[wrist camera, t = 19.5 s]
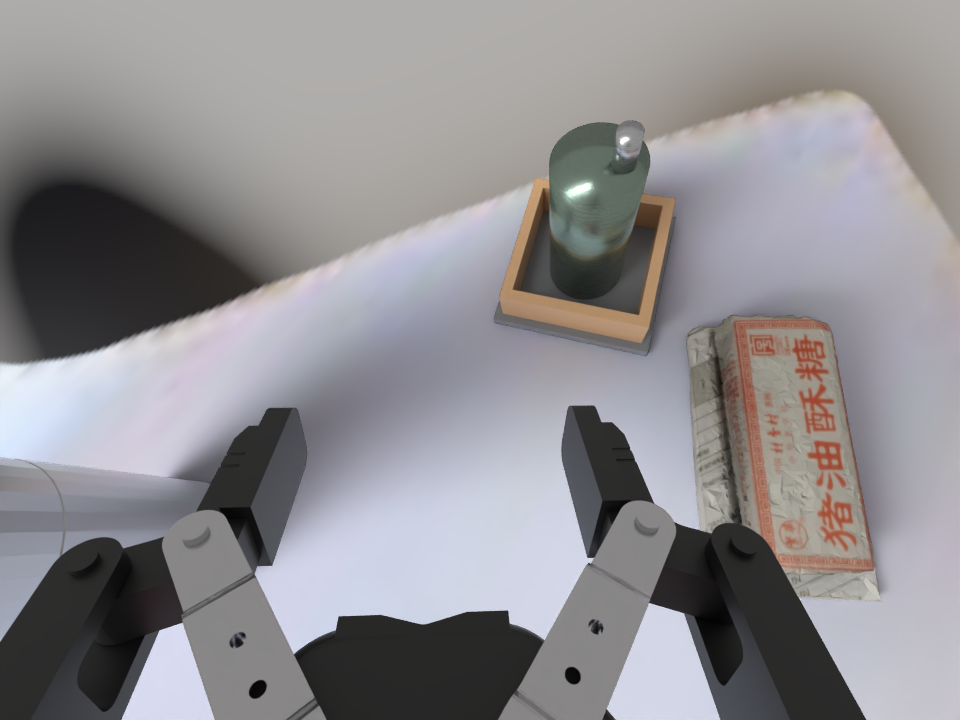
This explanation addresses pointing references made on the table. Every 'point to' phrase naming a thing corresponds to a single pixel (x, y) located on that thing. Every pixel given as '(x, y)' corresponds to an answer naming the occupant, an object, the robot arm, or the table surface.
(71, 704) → the robot arm
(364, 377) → the table surface
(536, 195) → the wooden tray with base
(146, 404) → the table surface
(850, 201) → the table surface
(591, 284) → the spout can
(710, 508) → the packaged product
